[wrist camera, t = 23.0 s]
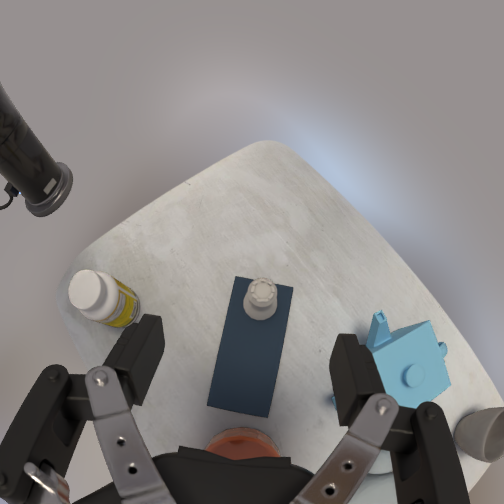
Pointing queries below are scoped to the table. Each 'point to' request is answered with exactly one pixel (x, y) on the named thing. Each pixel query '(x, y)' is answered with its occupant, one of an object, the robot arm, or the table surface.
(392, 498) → the figurine
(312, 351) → the table surface
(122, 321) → the pill bottle
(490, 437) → the mug
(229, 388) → the rectangular board
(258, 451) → the bowl
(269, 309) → the rook chess piece
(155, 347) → the robot arm
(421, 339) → the teapot
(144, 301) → the table surface
